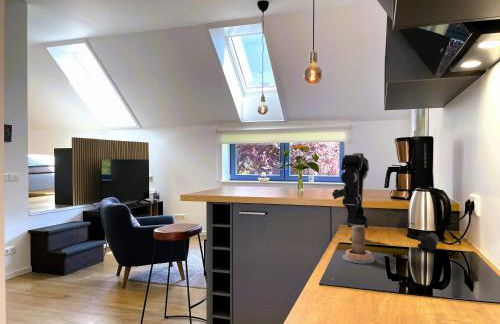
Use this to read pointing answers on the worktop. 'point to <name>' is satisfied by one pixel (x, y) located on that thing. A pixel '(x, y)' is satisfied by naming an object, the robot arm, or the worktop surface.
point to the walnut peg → (358, 240)
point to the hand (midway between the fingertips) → (351, 218)
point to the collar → (358, 257)
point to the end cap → (427, 241)
